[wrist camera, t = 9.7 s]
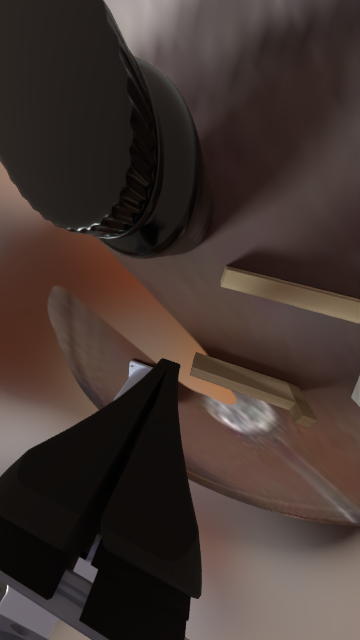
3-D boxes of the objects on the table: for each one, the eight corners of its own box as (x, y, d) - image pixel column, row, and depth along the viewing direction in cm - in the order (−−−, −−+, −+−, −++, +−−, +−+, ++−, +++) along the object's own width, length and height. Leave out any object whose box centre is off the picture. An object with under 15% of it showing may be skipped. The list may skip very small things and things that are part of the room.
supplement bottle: (180, 145, 12) (-126, -655, 1) (228, 217, 13) (258, 93, 3) (132, 215, 15) (-71, 137, 5) (174, 268, 16) (93, 302, 6)
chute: (291, 392, 20) (309, 427, 16) (193, 359, 21) (187, 383, 17) (376, 303, 13) (440, 325, 9) (225, 265, 15) (227, 271, 11)
